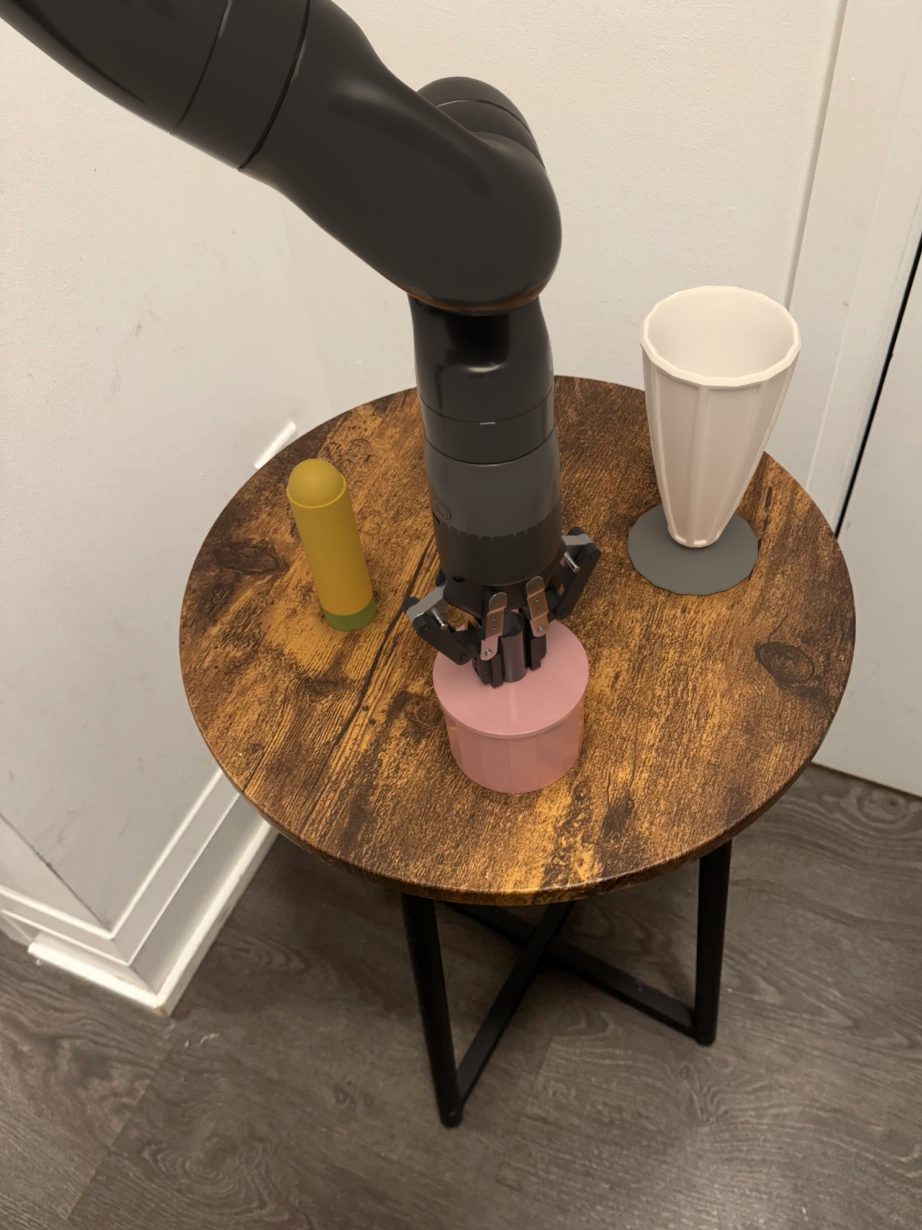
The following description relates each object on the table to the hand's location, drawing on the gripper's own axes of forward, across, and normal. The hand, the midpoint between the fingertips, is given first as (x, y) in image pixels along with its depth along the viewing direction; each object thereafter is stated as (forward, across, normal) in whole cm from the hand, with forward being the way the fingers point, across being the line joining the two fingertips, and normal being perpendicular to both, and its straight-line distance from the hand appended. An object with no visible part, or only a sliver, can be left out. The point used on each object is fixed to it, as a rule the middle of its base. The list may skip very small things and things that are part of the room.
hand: (510, 668), depth 73 cm
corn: (+9, +6, -18) cm, 21 cm away
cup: (+9, -23, -10) cm, 26 cm away
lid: (+1, 0, 0) cm, 1 cm away
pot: (+9, 0, 0) cm, 9 cm away
